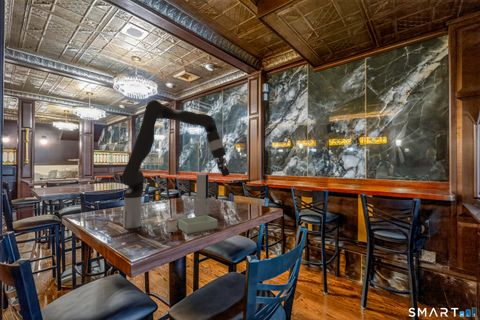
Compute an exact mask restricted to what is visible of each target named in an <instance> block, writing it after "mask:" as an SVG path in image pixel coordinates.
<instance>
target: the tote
mask: <svg viewBox="0 0 480 320" xmlns="http://www.w3.org/2000/svg"><path fill="white" fill-rule="evenodd" d="M218 224H219V223H218V219H217V218H214V217H212V216H210V215H206V216H200V217H196V216H194V217H186V219H179V227H178V229H179V230H180V231H182V232H184V233H185V234H186V235H190V234H196V233H197V234H198V233H201V232H206V231H211V230H212V231H213V230H217V229H218Z"/></svg>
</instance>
